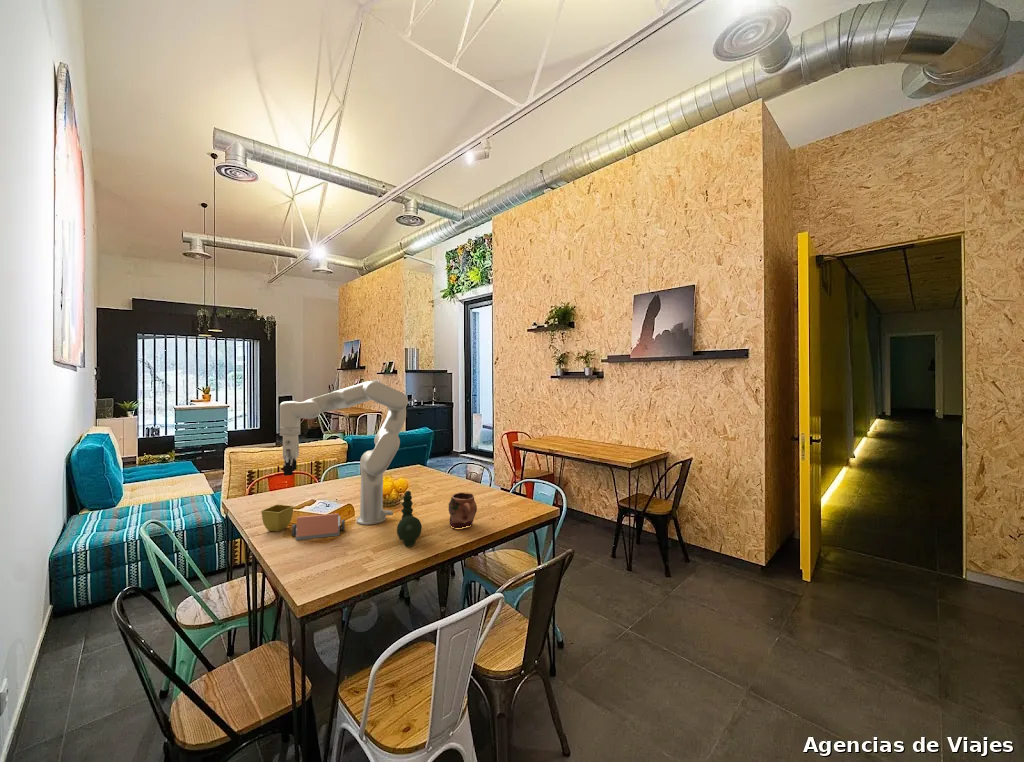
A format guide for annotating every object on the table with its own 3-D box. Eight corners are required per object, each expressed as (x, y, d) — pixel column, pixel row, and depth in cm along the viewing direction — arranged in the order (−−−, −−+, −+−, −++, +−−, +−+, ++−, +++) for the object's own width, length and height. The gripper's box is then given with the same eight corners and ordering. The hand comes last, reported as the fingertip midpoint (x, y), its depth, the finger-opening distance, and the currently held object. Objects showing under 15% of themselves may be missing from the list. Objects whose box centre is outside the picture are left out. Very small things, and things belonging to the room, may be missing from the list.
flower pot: (278, 534, 173) (279, 512, 173) (260, 532, 174) (260, 510, 174) (293, 526, 181) (294, 506, 181) (276, 525, 183) (276, 504, 183)
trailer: (295, 526, 181) (295, 516, 181) (344, 522, 188) (345, 512, 188) (290, 540, 166) (290, 529, 166) (344, 535, 173) (344, 524, 173)
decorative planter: (484, 532, 179) (485, 500, 179) (457, 537, 173) (458, 503, 173) (466, 518, 196) (466, 488, 196) (441, 522, 190) (441, 491, 190)
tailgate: (296, 537, 166) (296, 517, 166) (338, 533, 172) (339, 513, 172) (295, 538, 166) (296, 517, 165) (338, 534, 171) (339, 514, 171)
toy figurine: (395, 534, 179) (397, 553, 155) (396, 489, 181) (397, 500, 157) (418, 532, 182) (423, 550, 158) (418, 488, 183) (423, 499, 159)
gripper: (297, 433, 167) (297, 476, 168) (303, 428, 184) (303, 467, 184) (275, 434, 165) (276, 478, 165) (283, 428, 181) (283, 468, 182)
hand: (290, 472), depth 175 cm, fingers open, 9 cm apart
